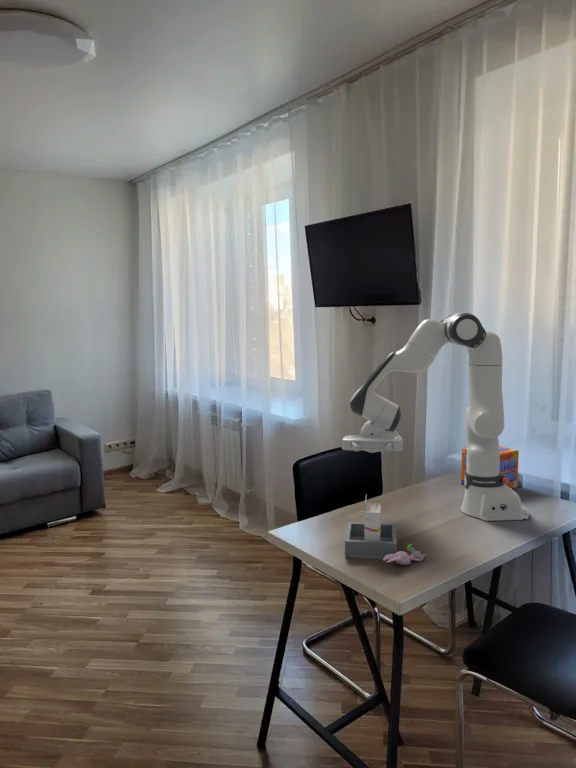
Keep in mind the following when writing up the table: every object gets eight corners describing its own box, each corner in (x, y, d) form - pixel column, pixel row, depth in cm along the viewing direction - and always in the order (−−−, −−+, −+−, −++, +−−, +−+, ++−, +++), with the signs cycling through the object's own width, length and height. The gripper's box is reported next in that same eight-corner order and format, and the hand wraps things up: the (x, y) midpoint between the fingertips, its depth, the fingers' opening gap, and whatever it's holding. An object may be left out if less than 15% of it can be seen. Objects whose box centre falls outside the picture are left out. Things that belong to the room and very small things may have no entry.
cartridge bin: (395, 539, 174) (395, 524, 173) (396, 560, 159) (397, 543, 159) (348, 536, 176) (347, 522, 176) (345, 557, 162) (344, 541, 161)
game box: (491, 494, 214) (492, 455, 212) (460, 484, 227) (461, 447, 225) (517, 488, 221) (519, 450, 219) (486, 478, 235) (487, 442, 233)
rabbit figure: (415, 558, 163) (376, 562, 155) (418, 538, 163) (379, 542, 155) (430, 566, 158) (391, 571, 150) (433, 546, 158) (394, 550, 150)
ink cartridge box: (380, 550, 163) (380, 503, 161) (364, 549, 164) (363, 502, 162) (380, 539, 172) (380, 493, 170) (364, 538, 173) (364, 493, 171)
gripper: (342, 429, 191) (339, 439, 177) (402, 430, 188) (403, 440, 174) (342, 447, 192) (339, 458, 178) (401, 448, 188) (403, 459, 175)
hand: (371, 449), depth 176 cm, fingers open, 8 cm apart
